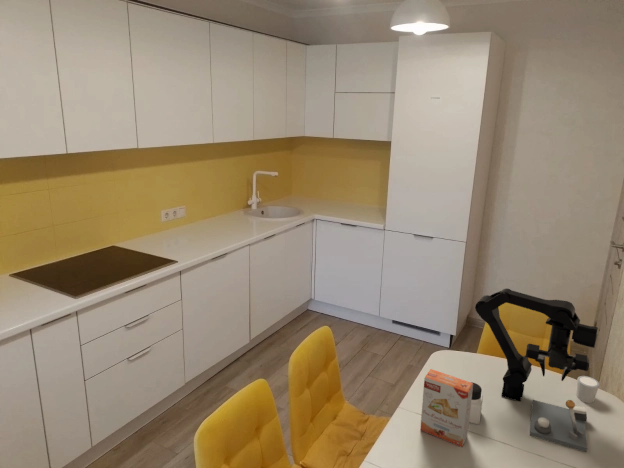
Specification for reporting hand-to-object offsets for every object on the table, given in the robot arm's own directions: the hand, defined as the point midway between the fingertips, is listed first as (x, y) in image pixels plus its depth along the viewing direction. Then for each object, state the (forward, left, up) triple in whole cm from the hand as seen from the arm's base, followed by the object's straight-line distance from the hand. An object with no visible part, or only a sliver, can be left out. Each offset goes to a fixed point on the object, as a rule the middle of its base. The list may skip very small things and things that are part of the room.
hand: (552, 378), depth 156 cm
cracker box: (-30, -30, -12) cm, 44 cm away
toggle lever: (+8, -14, -10) cm, 19 cm away
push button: (-1, -15, -9) cm, 18 cm away
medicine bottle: (-24, -17, -12) cm, 32 cm away
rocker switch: (+9, -3, -8) cm, 13 cm away
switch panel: (+3, -9, -12) cm, 15 cm away
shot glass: (+12, +12, -12) cm, 21 cm away
